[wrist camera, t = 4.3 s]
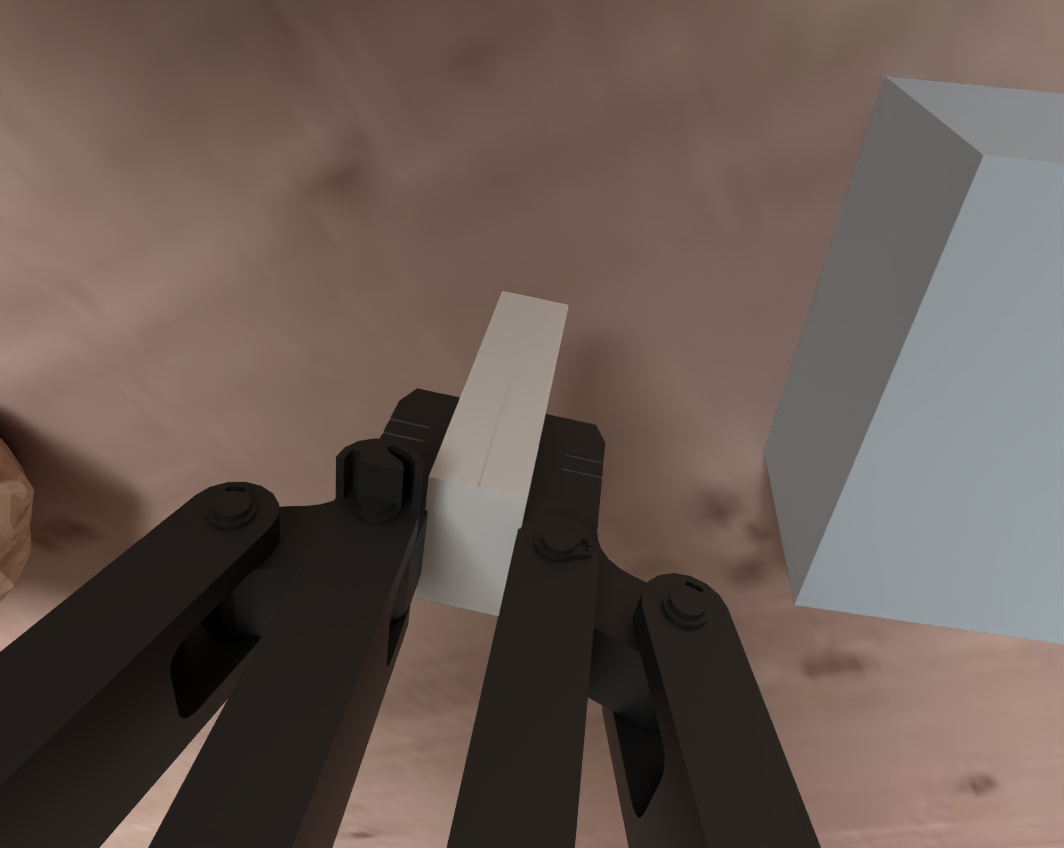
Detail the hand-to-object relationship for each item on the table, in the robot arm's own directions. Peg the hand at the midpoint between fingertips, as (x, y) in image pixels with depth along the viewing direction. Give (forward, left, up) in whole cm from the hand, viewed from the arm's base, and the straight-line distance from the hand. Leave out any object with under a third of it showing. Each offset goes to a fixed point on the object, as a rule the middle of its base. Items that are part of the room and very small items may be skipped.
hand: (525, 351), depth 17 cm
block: (+12, 0, -7) cm, 14 cm away
